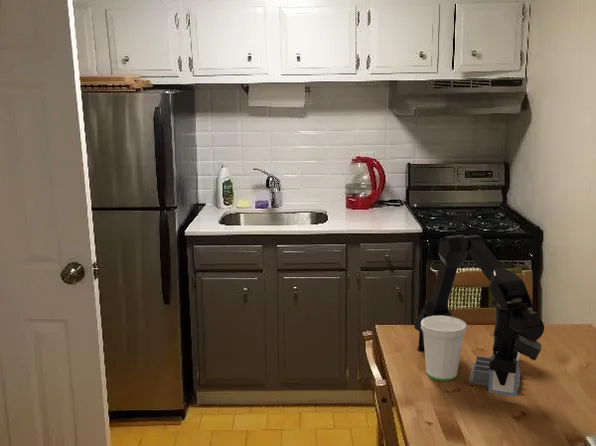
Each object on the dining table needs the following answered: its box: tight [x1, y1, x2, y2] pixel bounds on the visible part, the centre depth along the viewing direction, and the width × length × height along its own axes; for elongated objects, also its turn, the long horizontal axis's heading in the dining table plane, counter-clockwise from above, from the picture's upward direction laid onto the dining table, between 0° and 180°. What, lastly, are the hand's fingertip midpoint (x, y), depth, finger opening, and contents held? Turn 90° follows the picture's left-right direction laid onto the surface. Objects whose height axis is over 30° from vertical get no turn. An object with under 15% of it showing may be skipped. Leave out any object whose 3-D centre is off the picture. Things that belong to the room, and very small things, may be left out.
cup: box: [421, 316, 468, 382], centre depth 181 cm, size 12×12×15 cm
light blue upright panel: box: [488, 360, 520, 398], centre depth 166 cm, size 7×2×9 cm, turn 70°
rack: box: [468, 355, 521, 392], centre depth 179 cm, size 13×12×4 cm
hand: (502, 383), depth 167 cm, fingers closed on light blue upright panel, 2 cm apart
